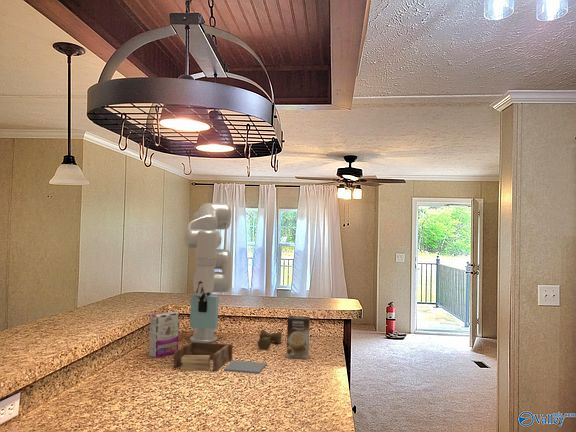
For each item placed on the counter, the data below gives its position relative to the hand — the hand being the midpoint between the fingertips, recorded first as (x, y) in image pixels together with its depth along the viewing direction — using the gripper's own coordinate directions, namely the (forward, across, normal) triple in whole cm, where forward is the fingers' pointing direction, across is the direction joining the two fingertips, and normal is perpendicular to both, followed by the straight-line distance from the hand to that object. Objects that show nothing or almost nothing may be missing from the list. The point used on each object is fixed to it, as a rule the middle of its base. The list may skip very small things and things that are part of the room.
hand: (204, 310), depth 174 cm
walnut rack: (+20, +1, 0) cm, 20 cm away
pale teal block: (+6, 0, 0) cm, 6 cm away
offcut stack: (+20, +7, 0) cm, 21 cm away
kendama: (+21, -38, +17) cm, 46 cm away
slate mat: (+20, +1, +17) cm, 26 cm away
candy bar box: (+20, -8, -20) cm, 30 cm away
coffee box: (+20, -20, +33) cm, 44 cm away
